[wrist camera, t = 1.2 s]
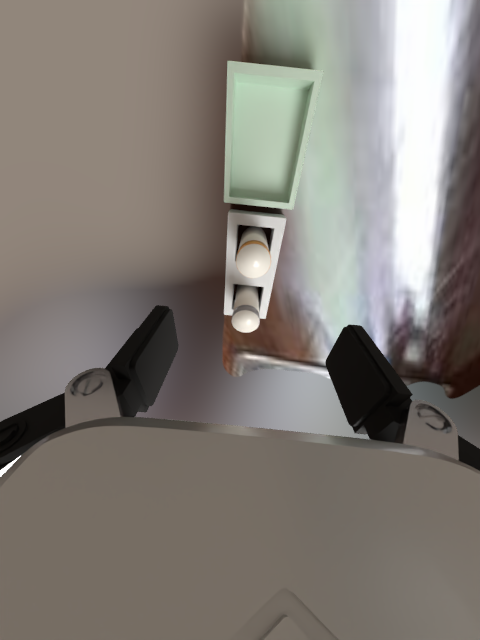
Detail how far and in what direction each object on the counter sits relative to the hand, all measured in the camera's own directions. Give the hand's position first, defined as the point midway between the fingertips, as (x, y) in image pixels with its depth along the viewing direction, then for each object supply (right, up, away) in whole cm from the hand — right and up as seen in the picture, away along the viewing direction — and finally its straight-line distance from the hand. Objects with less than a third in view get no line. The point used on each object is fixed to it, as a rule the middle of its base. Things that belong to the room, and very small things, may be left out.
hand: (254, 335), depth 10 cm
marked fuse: (+1, +12, +16) cm, 20 cm away
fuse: (0, +6, +21) cm, 22 cm away
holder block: (+1, +9, +19) cm, 21 cm away
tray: (+2, +20, +10) cm, 22 cm away
